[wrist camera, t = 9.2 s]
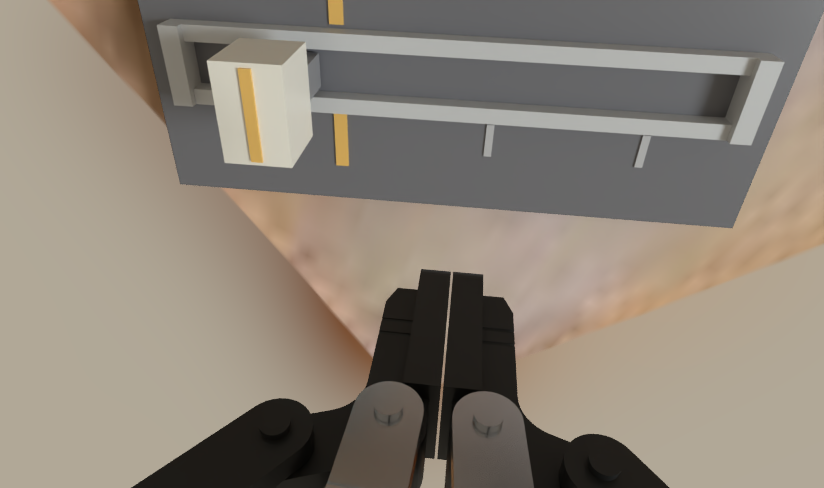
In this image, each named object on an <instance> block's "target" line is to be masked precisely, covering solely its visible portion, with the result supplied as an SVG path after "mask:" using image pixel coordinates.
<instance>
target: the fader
mask: <svg viewBox="0 0 824 488" xmlns="http://www.w3.org/2000/svg"><path fill="white" fill-rule="evenodd" d="M207 65H208V71H209V77H210V82H211V88H212V94H213V99H214V105H215V111H216V116H217V122H218V128H219V133H220V139H221V145H222V150H223V156H224V162H225V163H232V164H245V165H258V166H271V167H284V168H293V166H294V165H295V163H296V162H297V160H298V158H299V157H300V155H301V154H302V152H303V151H304V149H305V147H306V146H307V144H308V143H309V141H310V140H311V138H312V136H313V131H312V117H311V104H310V100H311V99H312V98H313V96H314V95H315V94H316V92H317V91H318V90H319V88H320V87H321V78H320V62H319V53H316V52H307V51H306V42H301V41H284V40H268V39H251V38H238V39H237V40H235V41H234V42H232V43H231V44H230V45H228V46H227V47H225V48H224V49H222V50H221V51H220V52H218V53H217V54H215V55H214V56H212V57H211V58H210V59H208V60H207Z"/></svg>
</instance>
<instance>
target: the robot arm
mask: <svg viewBox="0 0 824 488" xmlns="http://www.w3.org/2000/svg"><path fill="white" fill-rule="evenodd" d="M450 275H451V272H447V271H436V270H425V269H421V274H420V280H419V286H418V290H414V289H403V288H397V290H396V291H395V292H394V293H393V294H392V295H391V296H390V298H389V299H388V300H387V301H386V304H385V308H384V313H383V317H382V322H381V326H380V330H379V335H378V339H377V343H376V348H375V352H374V356H373V361H372V366H371V370H370V374H369V379H368V382H367V386H366V388H365V389H364V390H363V391H362V392H361V393H360V394H359V395H358V397H357V398H356V400H354V401H353V402H351V403H350V404H348V405H346V406H344V407H341V408H338V409H335V410H330V411H324V412H318V413H312V414H310V412H309V410H308V409H307V408H306V407H305V406H304V405H302V404H301V403H299V402H297V401H294V400H291V399H281V398H279V399H272V400H269V401H265V402H263V403H261V404H259V405H257V406H255V407H254V408H252V409H251V410H249V411H248V412H246V413H245V414H243V415H242V416H240V417H239V418H237V419H236V420H234V421H232V422H231V423H229V424H228V425H226V426H225V427H223V428H222V429H220V430H219V431H217V432H216V433H214V434H213V435H211V436H210V437H208V438H207V439H205V440H203V441H202V442H200V443H199V444H197V445H196V446H194V447H193V448H191V449H190V450H188V451H187V452H185V453H184V454H182V455H181V456H179V457H178V458H176V459H174V460H173V461H171V462H170V463H168V464H167V465H165V466H164V467H162V468H161V469H159V470H158V471H156V472H155V473H153V474H152V475H150V476H148V477H147V478H145V479H144V480H143V481H141V482H139V483H138V484H136V485H135V486H133V487H132V488H420V486H421V484H422V479H423V472H424V462H425V458H432V459H434V456H435V445H436V434H437V422H438V411H439V400H440V389H441V378H442V367H443V356H444V344H445V333H446V322H447V310H448V298H449V287H450ZM514 344H515V342H514V323H513V312H512V311H511V309H510V308H509V306H508V304H507V303H506V301H505V300H504V298H501V297H491V296H483V275H482V274H471V273H460V272H453V282H452V294H451V305H450V316H449V328H448V339H447V351H446V363H445V375H444V387H443V399H442V410H441V422H440V435H439V446H438V459H443V460H447V464H446V477H445V488H669V487H668V486H667V485H666V484H665V483H664V482H663V481H662V480H661V479H660V478H659V477H658V476H657V475H655V474H654V473H653V472H652V471H651V470H650V469H649V468H648V467H647V466H646V465H645V464H644V463H643V462H642V461H641V460H640V459H639V458H638V457H637V456H636V455H635V454H633V453H632V452H631V451H630V450H629V449H628V448H627V447H626V446H624V445H623V444H622V443H620V442H618V441H617V440H615V439H613V438H610V437H607V436H603V435H599V434H586V435H582V436H579V437H577V438H575V439H574V440H572V441H571V442H568V441H566V440H563V439H561V438H558V437H556V436H553V435H551V434H548V433H546V432H544V431H542V430H541V429H539V428H537V427H536V426H535V425H534V424H532V423H531V422H530V421H529V420H528V419H527V418H526V416H525V415H524V414H523V412H522V410H521V408H520V406H519V403H518V397H517V380H516V360H515V347H514Z"/></svg>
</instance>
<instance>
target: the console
mask: <svg viewBox="0 0 824 488" xmlns="http://www.w3.org/2000/svg"><path fill="white" fill-rule="evenodd" d="M138 4H139V8H140V12H141V17H142V21H143V25H144V30H145V34H146V38H147V43H148V47H149V51H150V56H151V60H152V64H153V68H154V73H155V77H156V81H157V86H158V90H159V94H160V99H161V103H162V107H163V112H164V116H165V120H166V125H167V129H168V133H169V137H170V142H171V146H172V150H173V155H174V159H175V163H176V168H177V172H178V176H179V180H180V184H186V185H198V186H211V187H223V188H236V189H248V190H261V191H273V192H286V193H298V194H311V195H323V196H336V197H348V198H361V199H373V200H386V201H398V202H411V203H423V204H436V205H448V206H461V207H473V208H486V209H499V210H511V211H524V212H536V213H549V214H561V215H574V216H586V217H599V218H611V219H624V220H636V221H649V222H661V223H674V224H686V225H699V226H711V227H724V228H733V225H734V223H735V221H736V218H737V216H738V213H739V211H740V209H741V206H742V204H743V202H744V199H745V197H746V194H747V192H748V190H749V187H750V185H751V183H752V180H753V178H754V175H755V173H756V171H757V168H758V166H759V164H760V161H761V159H762V156H763V154H764V152H765V149H766V147H767V145H768V142H769V140H770V137H771V135H772V133H773V130H774V128H775V126H776V123H777V121H778V118H779V116H780V114H781V111H782V109H783V107H784V104H785V102H786V99H787V97H788V95H789V92H790V90H791V88H792V85H793V83H794V80H795V78H796V76H797V73H798V71H799V69H800V66H801V64H802V61H803V59H804V57H805V54H806V52H807V50H808V47H809V45H810V42H811V40H812V38H813V35H814V33H815V31H816V28H817V26H818V23H819V21H820V19H821V16H822V14H823V12H824V0H138ZM238 38H251V39H268V40H284V41H301V42H306V51H307V52H316V53H319V62H320V78H321V87H320V88H319V90H318V91H317V92H316V94H315V95H314V96H313V98H312V99H311V100H310V104H311V117H312V131H313V136H312V138H311V140H310V141H309V143H308V144H307V146H306V147H305V149H304V151H303V152H302V154H301V155H300V157H299V158H298V160H297V162H296V163H295V165H294V166H293V168H284V167H271V166H258V165H245V164H232V163H225V162H224V156H223V150H222V145H221V139H220V133H219V128H218V122H217V116H216V111H215V105H214V99H213V94H212V88H211V82H210V77H209V71H208V65H207V60H208V59H210V58H211V57H212V56H214V55H215V54H217V53H218V52H220V51H221V50H222V49H224V48H225V47H227V46H228V45H230V44H231V43H232V42H234V41H235V40H237V39H238Z"/></svg>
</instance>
